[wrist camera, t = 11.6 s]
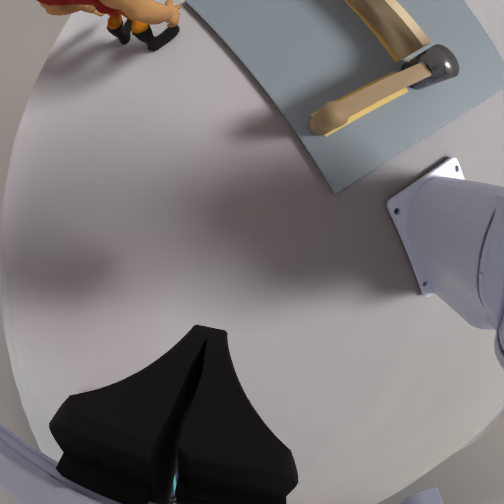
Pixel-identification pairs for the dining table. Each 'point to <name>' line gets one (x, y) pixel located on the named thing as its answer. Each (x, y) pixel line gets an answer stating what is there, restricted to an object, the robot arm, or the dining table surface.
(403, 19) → the tan piece
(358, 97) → the fixed fence section
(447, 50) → the hinge post
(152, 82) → the dining table surface
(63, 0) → the action figure
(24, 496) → the robot arm
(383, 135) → the board
